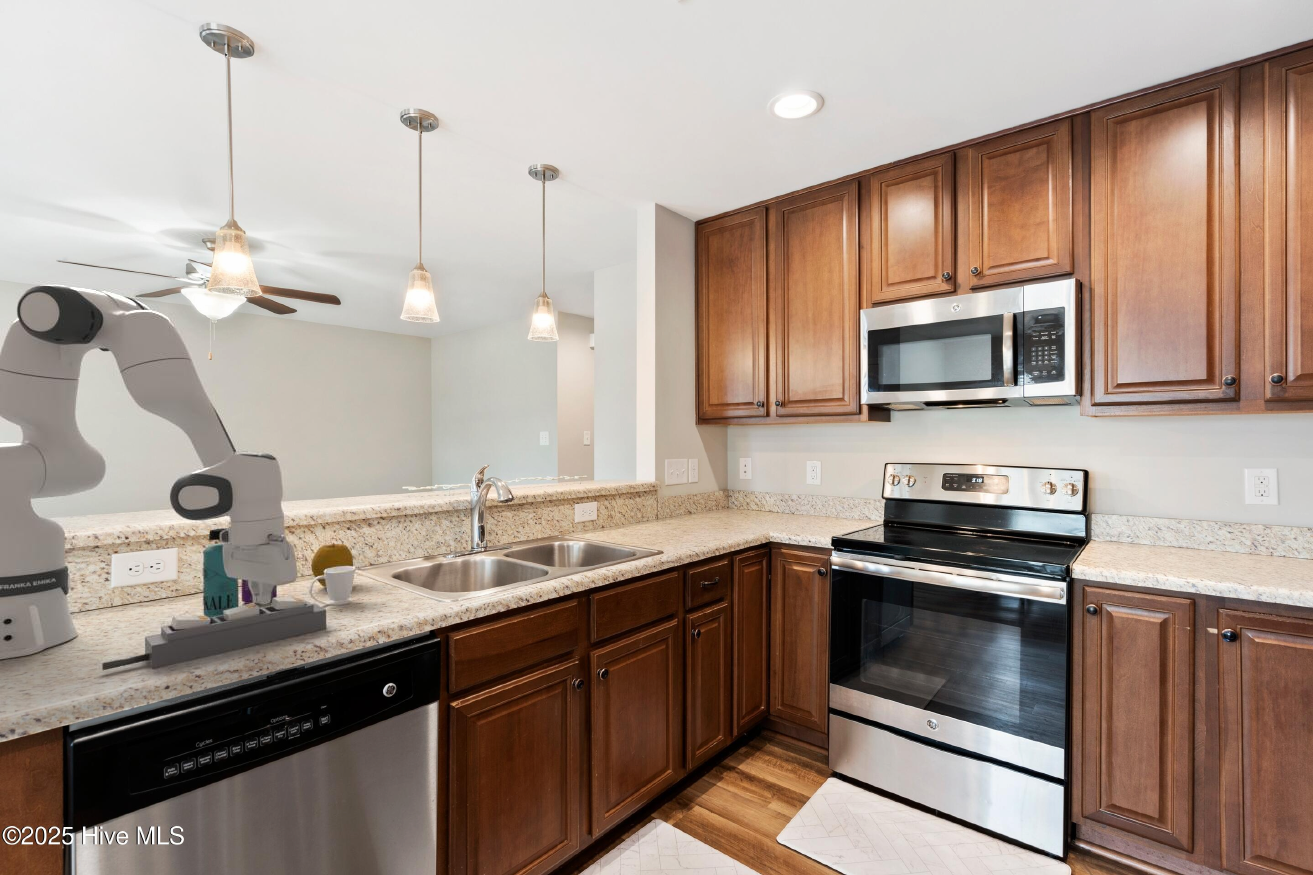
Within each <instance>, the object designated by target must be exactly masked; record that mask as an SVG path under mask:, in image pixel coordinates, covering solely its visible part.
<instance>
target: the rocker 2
mask: <svg viewBox="0 0 1313 875" xmlns="http://www.w3.org/2000/svg"><path fill="white" fill-rule="evenodd" d="M259 608H260V607H259V604H254V603H250V604H248V603H246V604H244V605H241V606H240V605H239V607H236V608H232V609H228V610H225V611H223V614H224V619H225V620H226V621H230V620H235V619H240V618H245V617H250V616H255V615H258V614H260V613H259Z"/></svg>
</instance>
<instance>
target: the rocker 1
mask: <svg viewBox="0 0 1313 875" xmlns="http://www.w3.org/2000/svg"><path fill="white" fill-rule="evenodd" d="M210 620H211V619H209V618H208V617H207V616H204V615H172V618H171V624H170V625H171V626H172V627H173V628H174V629H189V628H194V627H199V626H204V625H209V624H210Z"/></svg>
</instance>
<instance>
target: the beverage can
mask: <svg viewBox="0 0 1313 875" xmlns="http://www.w3.org/2000/svg"><path fill="white" fill-rule="evenodd" d="M277 587H278V585H274V586H273V589H272V592H271V601H272V599H273V598H278V597H277V596H278V595H277V594H278V591H277V589H278V588H277ZM241 602H243V603H246V604H250V603H254V602H253V595H252V593H251V590H250V588H249V586H248V580H243V579H241ZM254 604H256V605H260V604H259V603H254Z"/></svg>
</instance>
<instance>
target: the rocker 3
mask: <svg viewBox="0 0 1313 875" xmlns="http://www.w3.org/2000/svg"><path fill="white" fill-rule="evenodd" d="M304 600H305V599H302V598H300V597H275V598H273V599H272V600H271V605H270V606H272V607H273V608H275V609H290V608H296V607H301V606H305V602H306V601H307V600H305V601H304Z"/></svg>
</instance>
